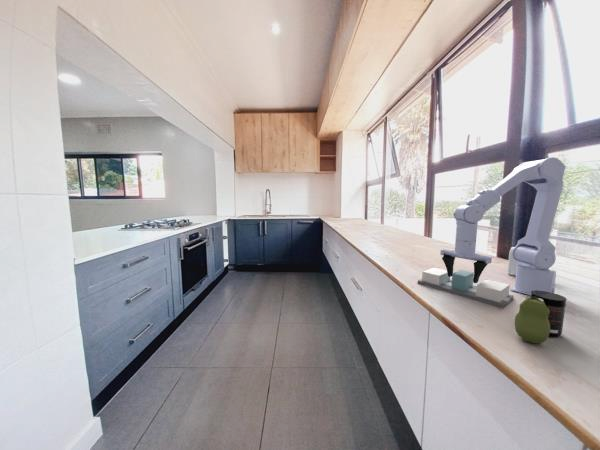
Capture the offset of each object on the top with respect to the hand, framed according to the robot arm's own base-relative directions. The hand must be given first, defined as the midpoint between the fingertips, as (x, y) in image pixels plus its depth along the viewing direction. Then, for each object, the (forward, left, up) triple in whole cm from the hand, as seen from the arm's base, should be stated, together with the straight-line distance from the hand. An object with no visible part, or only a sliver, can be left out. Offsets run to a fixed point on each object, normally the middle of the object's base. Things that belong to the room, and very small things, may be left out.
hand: (462, 279), depth 81 cm
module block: (0, 0, -3) cm, 3 cm away
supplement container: (-22, +13, -4) cm, 26 cm away
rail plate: (0, 0, -4) cm, 4 cm away
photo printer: (-9, -37, -4) cm, 38 cm away
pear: (-21, +21, -4) cm, 30 cm away
